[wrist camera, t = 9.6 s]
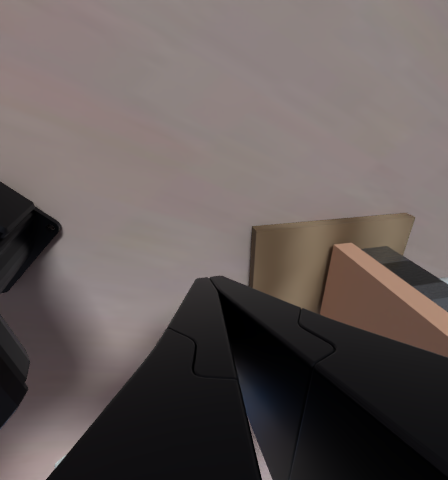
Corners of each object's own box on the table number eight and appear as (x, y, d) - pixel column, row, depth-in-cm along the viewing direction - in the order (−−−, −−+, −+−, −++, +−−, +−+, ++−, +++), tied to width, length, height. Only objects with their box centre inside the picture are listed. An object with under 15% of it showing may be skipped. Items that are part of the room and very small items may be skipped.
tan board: (246, 325, 27) (250, 333, 26) (252, 226, 22) (256, 231, 21) (377, 304, 30) (384, 310, 29) (406, 212, 25) (415, 217, 24)
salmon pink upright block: (319, 313, 26) (412, 431, 17) (333, 244, 23) (456, 343, 14) (414, 298, 28) (543, 396, 19) (439, 233, 25) (607, 312, 16)
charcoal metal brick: (335, 298, 26) (391, 360, 20) (345, 250, 24) (412, 303, 18) (373, 293, 27) (438, 350, 21) (387, 245, 25) (464, 294, 19)
